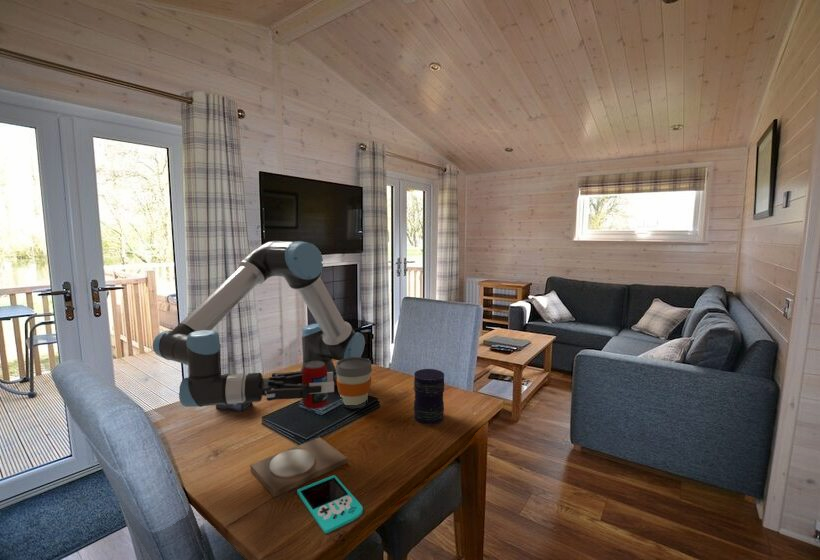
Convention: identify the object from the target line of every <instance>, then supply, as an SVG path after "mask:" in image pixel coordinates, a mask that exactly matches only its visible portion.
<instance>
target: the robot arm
mask: <svg viewBox="0 0 820 560" xmlns="http://www.w3.org/2000/svg"><path fill="white" fill-rule="evenodd" d="M323 261H324V259H323V255H322V253H321V251H320V250H319V248H318V247H317V246H316V245H315V244H313V243H310V242H307V241H302V240H297V241H296V240H295V241H291V240H290V241H289V240H288V241H287V240H283V241H282V240H272V241H271V240H270V241H267V242H265V243H263V244H262V245H259V246H258V247H257V248H255V249H254V250H252V251H251V252H249V254H247V255H246V256H245V257H244V258H243V259H242V260H241V261H240V262H239V263H238V268H237V269H236V270H235V271H234V272H232V274H231V275H230V276H229V277H228V278H227V279H225V281H223V282H222V283H221V284H220V285H219V286H218V287H216V289H215V290H213V292H212V293H211V294H209V296H207V297H206V298H205V299H204V300H203V301H202V302H201V303H200V304H199V305H197V307H196V308H194V310H192V311H191V312H190V314H188V315H187V316H186V317H185V318H184V319H183V320H182V321H181V322H179V324H178V325H177V326H175V327H174V328H173V329H172V330H170V329H169V330H165V331H162V332H160V333H158V334H157V335H156V336H155V338H154V339H153V342H152V350H153V351H154V353H155V354H156V355H157V356H159V357H161V358H163V359H164V360H167V361H173V362H176V363H180V364H183V365H186V366H188V377H185V378H183V379H182V380H181V381H180V385H179V393H178V398H179V399H178V400H179V402H180V404H181V406H183V407H190V408H191V407H199V408H202V407H208V406H216V405H220V404H232V403H233V404H234V405H236V404H237V403H243V402H244V401H245V400H246V402H252V403H256V402H257V403H259V402H261V401H262V399H263V396H265V397H266V401H268V402H269V401H274V400H291V399H292V400H293V399H294V400H297V399H303V398H309V394H315V393H327V392H328V393H334V392H335V382H337V373H336V365H335V364H334V361H333V360H335V361H339V360H342V359H345V358H351V357H360V358H362V355H363V352H364V350H365V344H366V341H365V336H364V335H363V334H362V333H360V332H358V331H357V332H356V331H355V330H354V329H353V327H352V325H351V324H350V323H349V322H348V321H345V320H344V319H343V317H342V314H341V313H340V311H339V310H338V307H337V306H336V303H335V302H334V300H333V298H332V297H331V295H330V293H329V291H328V289H327V287H326V286H325V283H324V282H323V280H322V278H321V276H322V274H323V271H322V270H323V266H324V263H322V262H323ZM271 277H282V278H284V279H285V281H286V283H287V284H288V286H289V287H290V288H291V289H292V290H297V291H298V293H299V295H300V297H301V298H302V300H303V301H304V303H305V305H306V307H307V308H308V310H309V311H310V312H309V313H311V314H312V317H313V318H314V320H315V322H316V323H312V324H308V325H306V326H304V327H303V328H302V330H301V331H302V333H301V335H302V336H301V344H302V346H301V347H302V365H301V367H300V370H299V371H290V372H289V371H288V372H278V373H277V372H273V373H271V376H270V377H267V378H266V377H263V374H262V373H261V372H250V373H247V374H245V373H238V374H237V373H236V374H235V373H234V374H233V373H231V374H232V375H224V374H222V363H221V361H222V359H221V358H222V357H221V356H222V355H221V353H222V352H221V349H222V346H221V342H220V335H219V333H218V332H217V331H216V330H214V329H215V327H217V326H218V325H219V323H220V322H221V321H222V320H223V319H224V318H225V317H226V316H227V315H228V314H229V313H230V312H231V311H232V310H233V309H234V308H235V307H236V306H237V305H238V304H239V303H240V302H241V301H242V300H243V299H244V298H245V297H246V296H247V295H248V294H249V293H250V292H251V291H252V290H253V289H254V288H255V287H256V286H257V285H262V284H263V283H265V281H266V280H268V279H269V278H271ZM310 361H322V362H324V363H325V366H326V367H327V380H328V382H319V383H309V385H303V383H302V370H303V368H304V366H305V363H307V362H310Z"/></svg>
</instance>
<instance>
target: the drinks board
mask: <svg viewBox="0 0 820 560" xmlns="http://www.w3.org/2000/svg"><path fill="white" fill-rule="evenodd" d="M347 463H348V457H347V456H346V455H345V454H343V453H341V452H340V451H339V450H338V449H336V448H335V447H333V446H332V445H331V444H330V443H328V442H327V441H325V440H324V439H323V438H322V437H320V436H319V437H317V438H315V439H314V438H313V439H311V440H309V441H306V442H304V443H301V444H299V445H296V446H294V447H291V448H289V449H286V450H285V451H284V450H283V451H281V452H279V453H276V454H274V455H271V456H268V457H266V458H264V459H262V460H258V461H256V462H254V463H251V464H250V471H251V473H252V474H253V475H255V477H256V478H257V479H258V481H260V482H261V484H262V485H263V486H264V487H265V488H266V490H267V491H268V492H269V493H270V494H271V496H273V497H274V498H276V497H278V496H282V494H285V493H287V492H290V491H291V490H293V489H296V488H297V487H299V486H302V485H304V484H305V483H306V484H307V483H308V482H310V481H312V480H314V479H316V478H318V477H321V476H323V475H325V474H326V473H329V472H331V471H333V470H335V469H338V468H340V467H341V466H344V465H346V464H347Z"/></svg>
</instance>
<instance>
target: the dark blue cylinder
mask: <svg viewBox="0 0 820 560" xmlns="http://www.w3.org/2000/svg"><path fill="white" fill-rule="evenodd" d="M413 376H414V378H413V379H414V382H413V385H414V386H413V389H414V390H413V391H414V402H413V403H414V404H413V414H414V415H413V420H414V421H415V422H416V423H418V424H420V425H423V426H435V425H439V424H441V423H442V422H443V421H444V412H445V407H444V406H445V405H444V402H445V401H444V392H445V373H444V372H443V371H442V370H439V369H435V368H423V369H419V370H416V371H415V372H414V375H413Z"/></svg>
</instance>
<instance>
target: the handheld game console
mask: <svg viewBox="0 0 820 560" xmlns="http://www.w3.org/2000/svg"><path fill="white" fill-rule="evenodd" d="M296 491H297V492H296V494H297V495H298V496H299V498H300V500H302V502H303V504H304V505H305V507H306V508H307V510H308V511H309V513H310V514H311V516H312V517H313V518H314V520H315V522H316V523H317V524H318V526H319V527H320V528H321V530H322V531H323V533H324V534H328V533H331V532H332V531H334V530H336V529H339V528H341V527H343V526H345V525H347V524H349V523H351V522H353V521H354V520H356V519H358V518H360V517H361V516H362V514H363V512H364V508H363V505H362V504H361V503H360V502H359V500H358V499H357V498H356V497H355V496H354V495H353V494H352V493H351V492H350V490H349V489H348V488H347V487H346V486H345V485H344V484H343V483H342V481H341V480H340V479H339V478H338V477H337V475H335V474H333V475H331V476H328V477H326V478H323V479H321V480H318V481H315V482H313V483H311V484H310V483H309V485H305V486H303V487H301V488H298V489H297V490H296Z"/></svg>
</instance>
